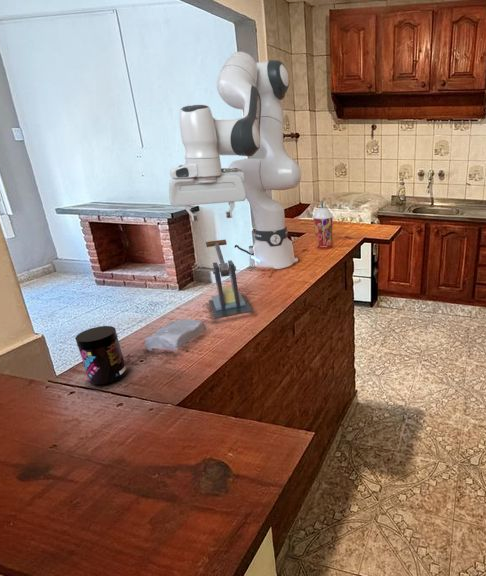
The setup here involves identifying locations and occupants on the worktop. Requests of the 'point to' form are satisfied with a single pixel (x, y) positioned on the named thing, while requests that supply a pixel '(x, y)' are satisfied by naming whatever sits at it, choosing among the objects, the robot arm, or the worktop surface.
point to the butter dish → (229, 305)
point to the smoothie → (323, 227)
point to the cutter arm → (220, 256)
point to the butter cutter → (224, 311)
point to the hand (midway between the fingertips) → (212, 219)
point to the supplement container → (101, 355)
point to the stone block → (174, 334)
